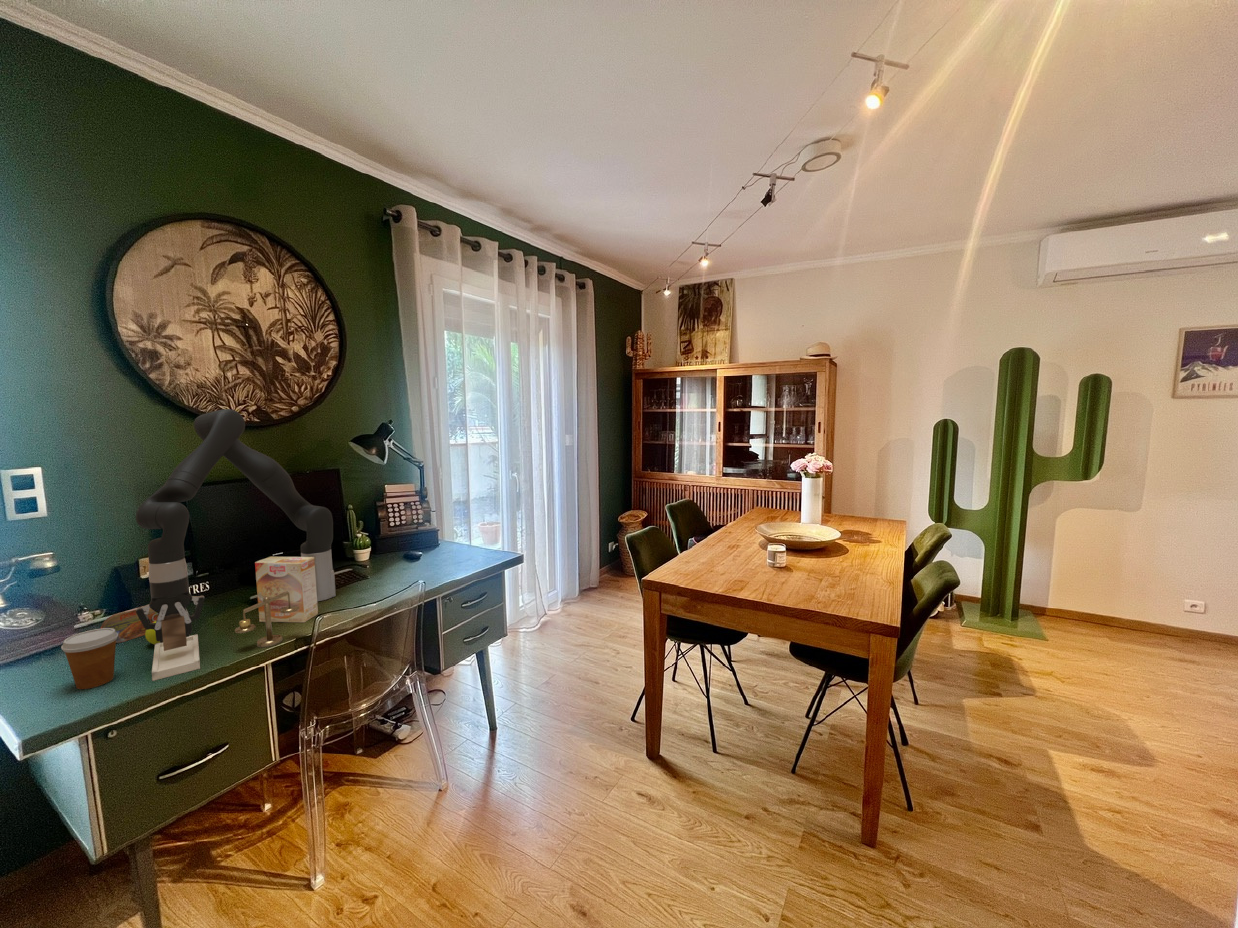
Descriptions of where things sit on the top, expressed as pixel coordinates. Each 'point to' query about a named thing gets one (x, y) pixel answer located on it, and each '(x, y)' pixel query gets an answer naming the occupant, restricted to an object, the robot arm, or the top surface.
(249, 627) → the balance
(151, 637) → the ornament
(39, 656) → the top surface
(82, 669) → the disposable coffee cup
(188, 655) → the dish
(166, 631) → the block
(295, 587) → the coffeecake box
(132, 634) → the tin
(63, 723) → the top surface
